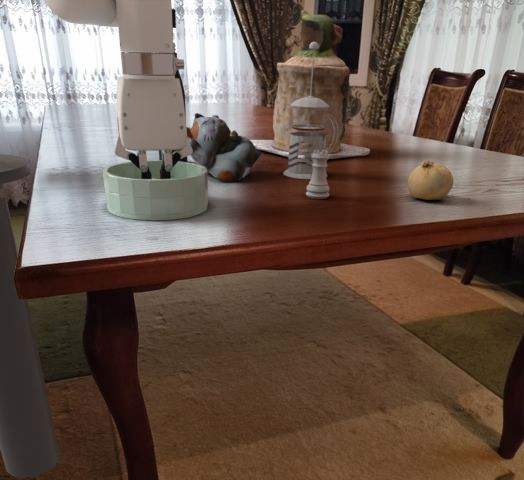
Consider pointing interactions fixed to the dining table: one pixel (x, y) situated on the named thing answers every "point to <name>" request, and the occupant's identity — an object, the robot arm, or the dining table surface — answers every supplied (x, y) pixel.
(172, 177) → the bowl
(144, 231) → the dining table surface
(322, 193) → the rook chess piece
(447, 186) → the onion
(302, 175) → the french press
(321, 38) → the cookie jar
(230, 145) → the lucky cat figurine
